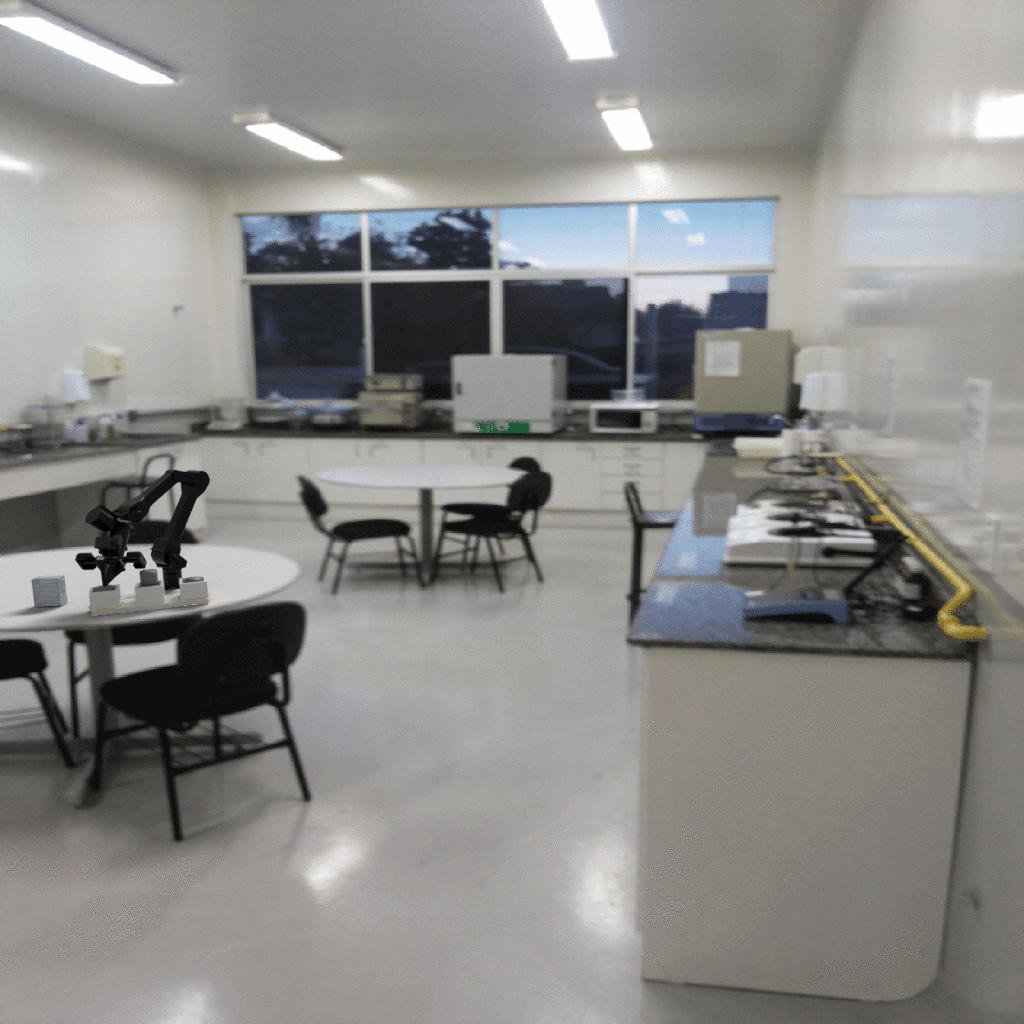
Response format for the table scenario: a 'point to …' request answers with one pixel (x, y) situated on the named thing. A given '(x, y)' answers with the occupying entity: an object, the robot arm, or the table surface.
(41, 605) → the medicine box
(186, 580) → the button
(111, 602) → the button board
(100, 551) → the robot arm
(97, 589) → the button
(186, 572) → the table surface
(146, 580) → the button
